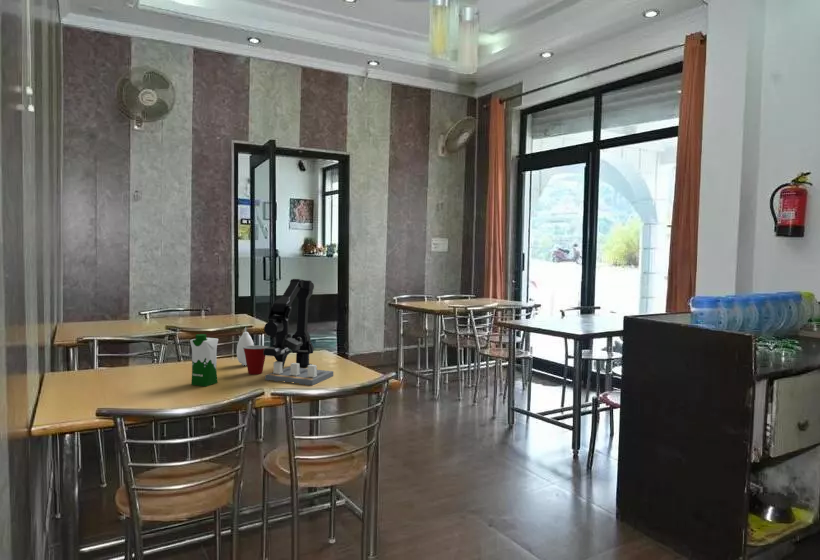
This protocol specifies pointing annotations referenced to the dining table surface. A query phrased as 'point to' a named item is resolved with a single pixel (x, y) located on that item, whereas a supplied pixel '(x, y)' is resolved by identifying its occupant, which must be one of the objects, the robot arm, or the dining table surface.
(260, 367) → the plastic cup
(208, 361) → the milk carton
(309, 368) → the block
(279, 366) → the block
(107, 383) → the dining table surface
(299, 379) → the breaker panel
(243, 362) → the sauce bottle
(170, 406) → the dining table surface
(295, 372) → the block
